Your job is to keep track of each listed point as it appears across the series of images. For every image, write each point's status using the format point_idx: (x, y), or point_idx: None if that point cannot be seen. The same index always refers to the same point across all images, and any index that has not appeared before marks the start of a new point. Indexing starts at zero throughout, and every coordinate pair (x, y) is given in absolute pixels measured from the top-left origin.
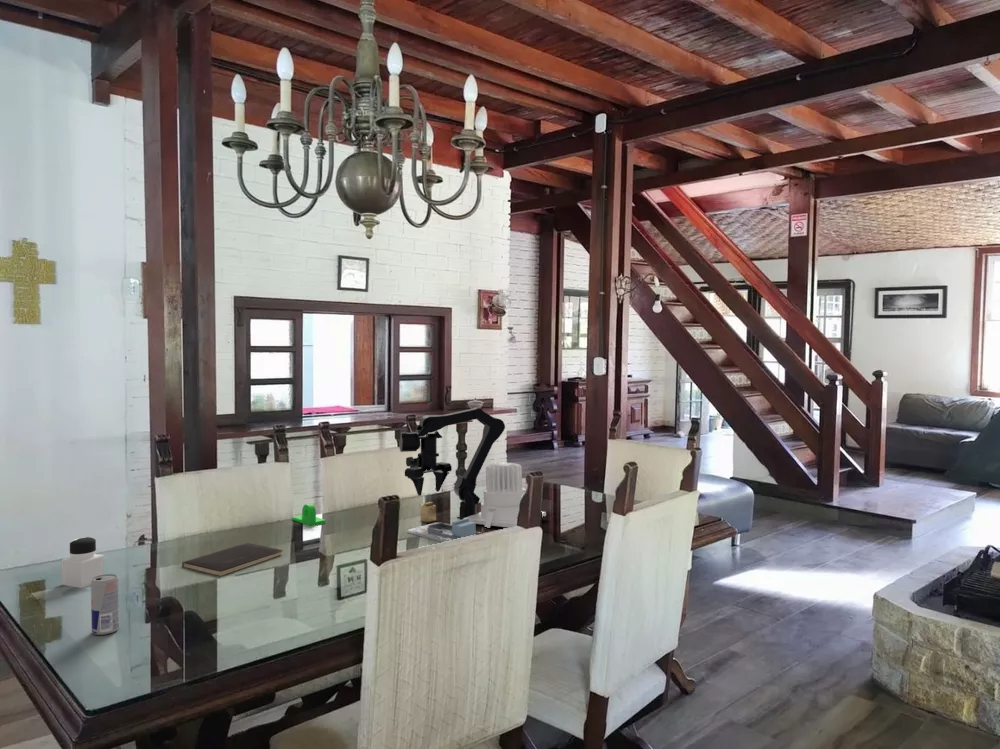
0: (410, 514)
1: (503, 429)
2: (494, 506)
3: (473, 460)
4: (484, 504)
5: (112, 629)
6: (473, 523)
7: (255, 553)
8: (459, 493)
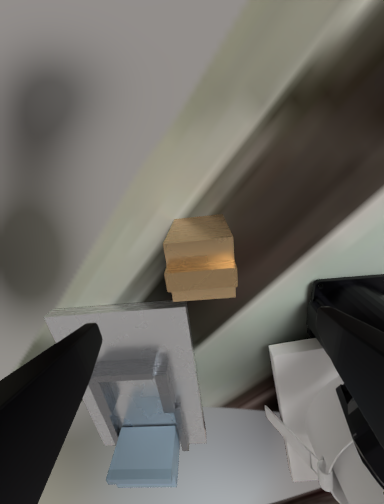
0: (236, 35)
1: None
2: (341, 484)
3: None
4: None
5: None
6: (168, 485)
7: None
8: (354, 441)
